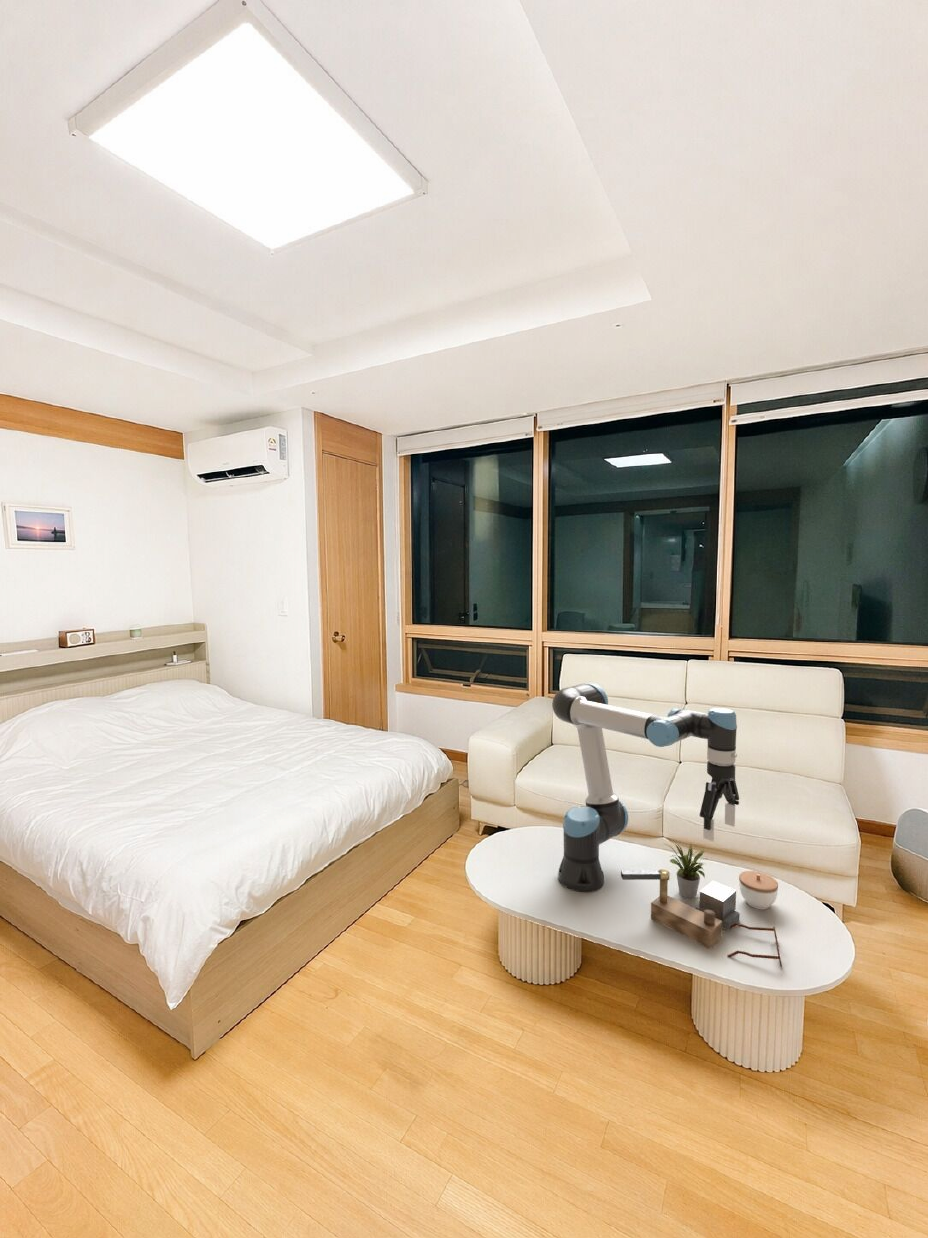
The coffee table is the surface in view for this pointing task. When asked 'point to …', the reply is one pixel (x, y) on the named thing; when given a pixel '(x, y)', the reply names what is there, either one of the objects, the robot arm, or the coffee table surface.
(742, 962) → the coffee table surface
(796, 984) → the coffee table surface
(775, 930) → the glasses
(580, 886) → the robot arm
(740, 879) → the lidded jar
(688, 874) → the house plant
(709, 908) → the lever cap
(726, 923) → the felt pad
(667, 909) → the body
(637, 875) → the lever
